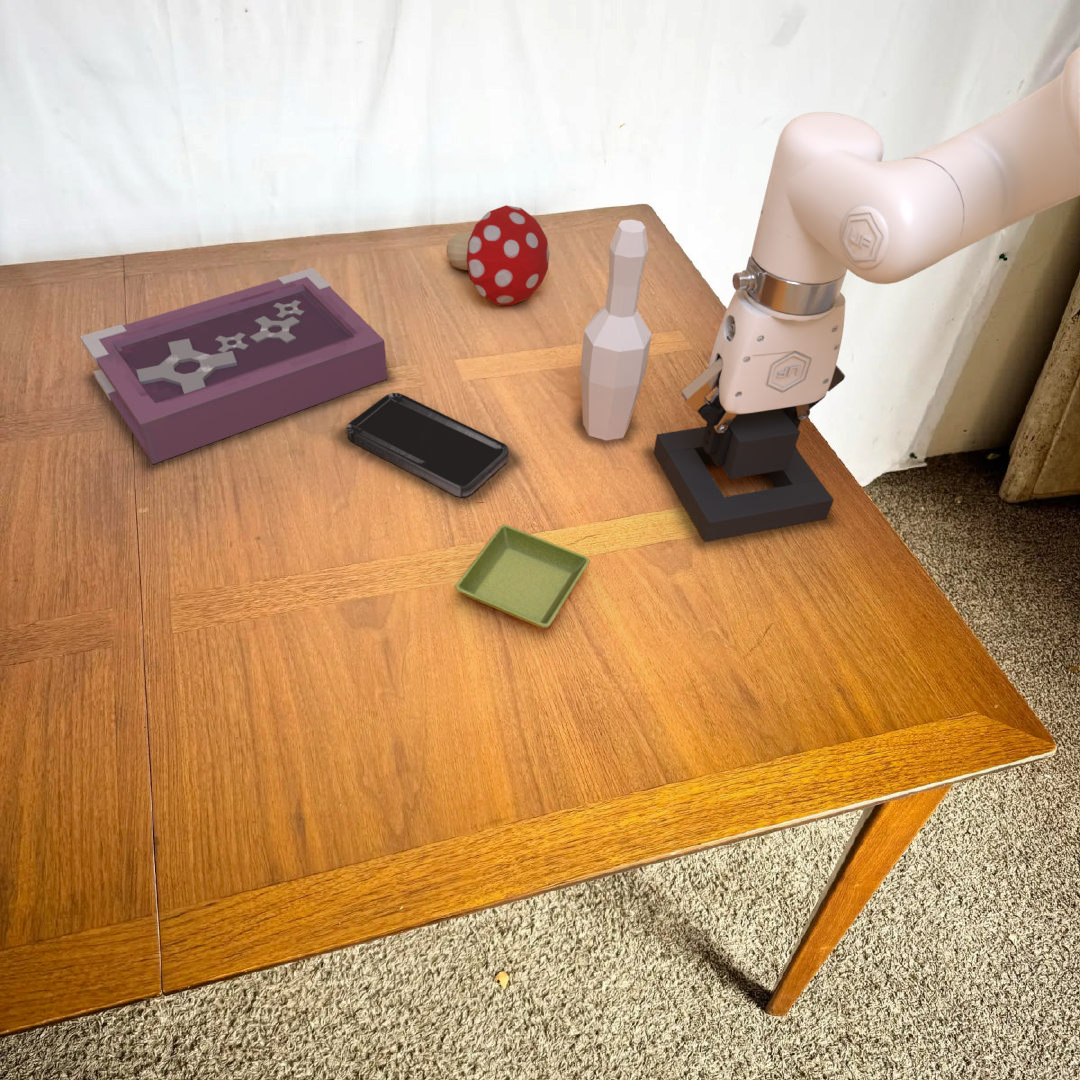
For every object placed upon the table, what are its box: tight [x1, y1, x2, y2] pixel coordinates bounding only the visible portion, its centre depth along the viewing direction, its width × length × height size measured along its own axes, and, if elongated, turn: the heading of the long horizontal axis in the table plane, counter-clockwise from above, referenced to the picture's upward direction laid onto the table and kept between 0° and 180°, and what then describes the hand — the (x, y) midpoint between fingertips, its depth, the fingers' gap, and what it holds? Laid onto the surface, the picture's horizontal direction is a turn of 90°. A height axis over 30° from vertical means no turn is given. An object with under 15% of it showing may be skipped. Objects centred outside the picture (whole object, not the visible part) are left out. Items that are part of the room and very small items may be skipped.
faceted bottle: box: [580, 219, 653, 441], centre depth 90 cm, size 6×6×22 cm
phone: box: [346, 392, 510, 498], centre depth 94 cm, size 8×1×15 cm
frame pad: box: [653, 425, 834, 543], centre depth 92 cm, size 13×13×2 cm
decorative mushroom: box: [446, 204, 551, 307], centre depth 113 cm, size 11×11×15 cm
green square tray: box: [454, 523, 591, 629], centre depth 81 cm, size 9×9×2 cm
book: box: [79, 267, 388, 465], centre depth 99 cm, size 25×16×5 cm, turn 126°
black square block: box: [720, 406, 801, 480], centre depth 88 cm, size 6×6×4 cm
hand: (746, 449), depth 90 cm, fingers closed on black square block, 6 cm apart
